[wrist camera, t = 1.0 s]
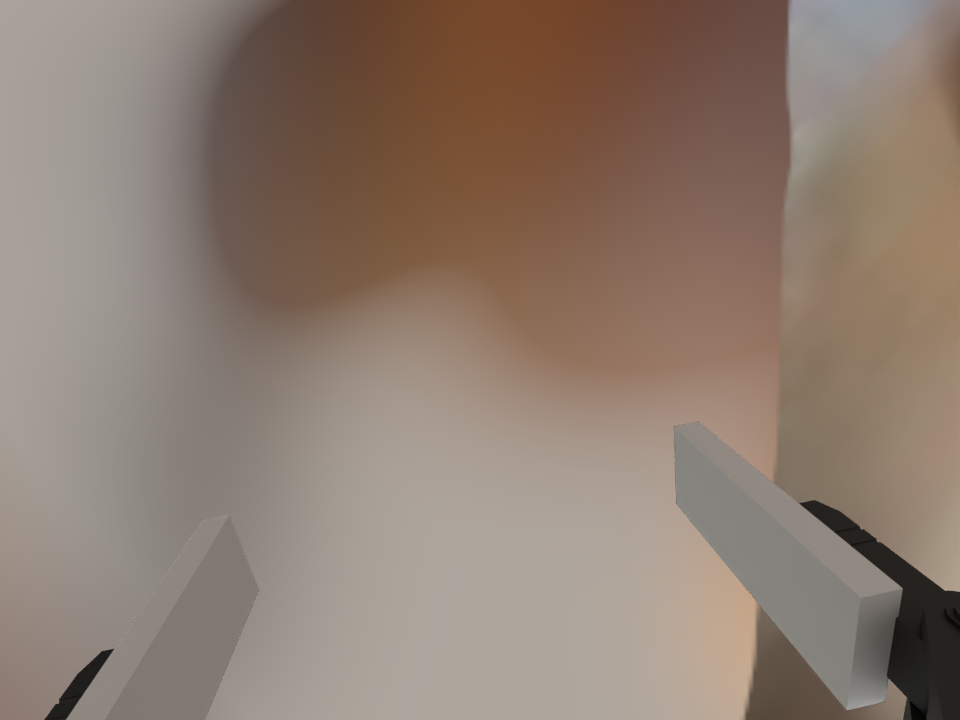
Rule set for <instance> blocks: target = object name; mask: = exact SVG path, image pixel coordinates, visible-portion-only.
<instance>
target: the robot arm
mask: <svg viewBox="0 0 960 720" xmlns="http://www.w3.org/2000/svg"><path fill="white" fill-rule="evenodd" d="M674 451H675V483H676V504H677V505H678V507H679V508H680V509H681V510H682V511H683V513H684V514H685V515H686V516H687V517H688V519H689V520H690V521H691V522H692V523H693V525H694V526H695V527H696V528H697V530H698V531H699V532H700V533H701V534H702V536H703V537H704V538H705V539H706V540H707V542H708V543H709V544H710V545H711V546H712V548H713V549H714V550H715V551H716V553H717V554H718V555H719V556H720V558H722V560H723V561H724V562H725V563H726V565H727V566H728V567H729V568H730V569H731V571H732V572H733V573H734V574H735V576H736V577H737V578H738V579H739V580H740V582H741V583H742V584H743V585H744V587H745V588H746V589H747V590H748V591H749V593H750V594H751V595H752V596H753V598H754V599H755V600H756V601H757V602H758V604H759V605H760V606H761V607H762V608H763V610H764V611H765V612H766V613H767V615H768V616H769V617H770V618H771V619H772V621H773V622H774V623H775V624H776V625H777V627H778V628H779V629H780V630H781V632H782V633H783V634H784V635H785V636H786V638H787V639H788V640H789V641H790V642H791V644H792V645H793V646H794V647H795V648H796V650H797V651H798V652H799V653H800V655H801V656H802V657H803V658H804V659H805V661H806V662H807V663H808V664H809V665H810V667H811V668H812V669H813V670H814V672H815V673H816V674H817V675H818V676H819V678H820V679H821V680H822V681H823V682H824V684H825V685H826V686H827V687H828V689H829V690H830V691H831V692H832V693H833V695H834V696H835V697H836V698H837V699H838V701H839V702H840V703H841V704H842V706H843V707H844V708H845V709H846V710H851V709H856V708H860V707H864V706H868V705H873V704H877V703H881V702H885V697H886V690H887V684H888V678H889V679H890V680H891V681H892V682H893V683H894V684H895V685H896V686H897V687H898V688H899V689H900V691H901V692H902V693H903V694H904V695H905V696H906V697H907V702H906V707H905V713H904V718H903V720H960V592H955V591H945V590H943V589H942V588H940V587H939V586H938V585H936V584H935V583H934V582H933V581H931V580H930V579H929V578H927V577H926V576H925V575H923V574H922V573H921V572H919V571H918V570H917V569H915V568H914V567H913V566H911V565H910V564H909V563H907V562H906V561H905V560H903V559H902V558H901V557H899V556H898V555H897V554H895V553H894V552H893V551H891V550H890V549H889V548H887V547H886V546H885V545H884V544H882V543H881V542H879V543H878V542H877V541H876V538H874V537H873V536H872V535H870V534H869V533H868V532H866V531H865V530H864V529H863V530H861V529H860V526H858V525H857V524H856V523H854V522H853V521H852V520H850V519H849V518H848V517H846V516H845V515H844V514H842V513H841V512H840V511H838V510H835V509H833V508H831V507H829V506H826V505H824V504H822V503H820V502H817V501H815V500H813V501H808V502H803V503H798V502H796V501H795V500H794V499H793V498H791V497H790V496H789V495H788V494H787V493H785V492H784V491H783V490H782V489H780V488H779V487H778V486H777V485H776V484H774V483H773V482H772V481H771V480H769V479H768V478H767V477H766V476H765V475H763V474H762V473H761V472H760V471H758V470H757V469H756V468H755V467H753V466H752V465H751V464H750V463H749V462H747V461H746V460H745V459H744V458H742V457H741V456H740V455H739V454H738V453H736V452H735V451H734V450H733V449H731V448H730V447H729V446H728V445H726V444H725V443H724V442H722V440H720V439H719V438H718V437H717V436H715V435H714V434H713V433H712V432H710V431H709V430H708V429H707V428H706V427H704V426H703V425H702V424H701V423H700V422H693V423H688V424H683V425H678V426H674ZM258 592H259V588H258V586H257V583H256V581H255V578H254V576H253V573H252V571H251V568H250V565H249V563H248V560H247V558H246V555H245V552H244V550H243V548H242V545H241V542H240V540H239V537H238V535H237V532H236V530H235V527H234V524H233V522H232V519H231V517H230V515H225V516H220V517H215V518H210V519H205V520H202V521H201V523H200V524H199V526H198V527H197V529H196V530H195V532H194V533H193V535H192V536H191V538H190V539H189V540H188V542H187V543H186V545H185V546H184V548H183V549H182V551H181V552H180V554H179V555H178V557H177V558H176V560H175V561H174V562H173V564H172V565H171V567H170V568H169V570H168V571H167V573H166V574H165V576H164V577H163V578H162V580H161V581H160V583H159V584H158V586H157V587H156V589H155V590H154V592H153V593H152V595H151V596H150V598H149V599H148V600H147V602H146V603H145V605H144V606H143V608H142V609H141V611H140V612H139V614H138V615H137V616H136V618H135V619H134V621H133V622H132V624H131V625H130V627H129V629H128V630H127V631H126V633H125V634H124V636H123V637H122V638H121V640H120V641H119V643H118V644H117V646H116V647H115V649H111V650H106V651H102V652H101V653H100V654H99V655H98V656H97V657H96V658H94V659H93V660H92V661H91V662H90V663H89V664H88V665H87V666H86V667H85V668H84V669H83V670H82V671H81V672H79V673H78V674H77V676H76V677H75V678H74V680H73V681H72V683H71V684H70V685H69V687H68V688H67V690H66V691H65V692H64V694H63V695H62V696H61V698H60V699H59V704H56V705H55V706H54V707H53V709H52V710H51V711H50V713H49V714H48V716H47V717H46V718H45V720H205V719H206V716H207V714H208V712H209V709H210V707H211V704H212V702H213V700H214V697H215V695H216V692H217V690H218V688H219V685H220V683H221V681H222V678H223V676H224V673H225V671H226V669H227V666H228V664H229V661H230V659H231V656H232V654H233V652H234V649H235V647H236V644H237V642H238V640H239V637H240V635H241V633H242V630H243V628H244V625H245V623H246V621H247V618H248V616H249V613H250V611H251V608H252V606H253V604H254V601H255V599H256V596H257V594H258Z"/></svg>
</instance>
